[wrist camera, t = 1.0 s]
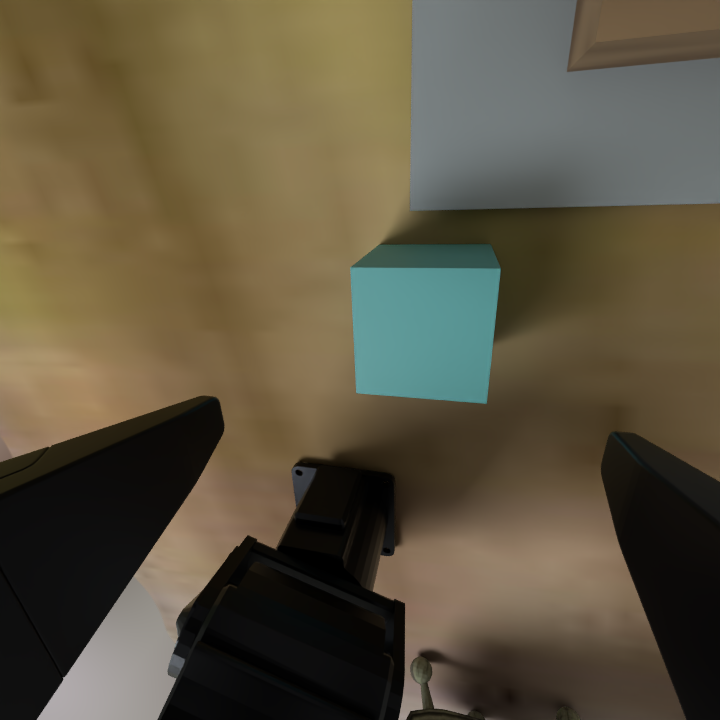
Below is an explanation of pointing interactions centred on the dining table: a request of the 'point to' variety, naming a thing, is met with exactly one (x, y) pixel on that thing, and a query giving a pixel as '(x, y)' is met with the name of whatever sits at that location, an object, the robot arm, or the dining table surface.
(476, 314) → the teal brick
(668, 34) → the walnut brick
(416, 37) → the build plate
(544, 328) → the dining table surface
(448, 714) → the tabletop clock
